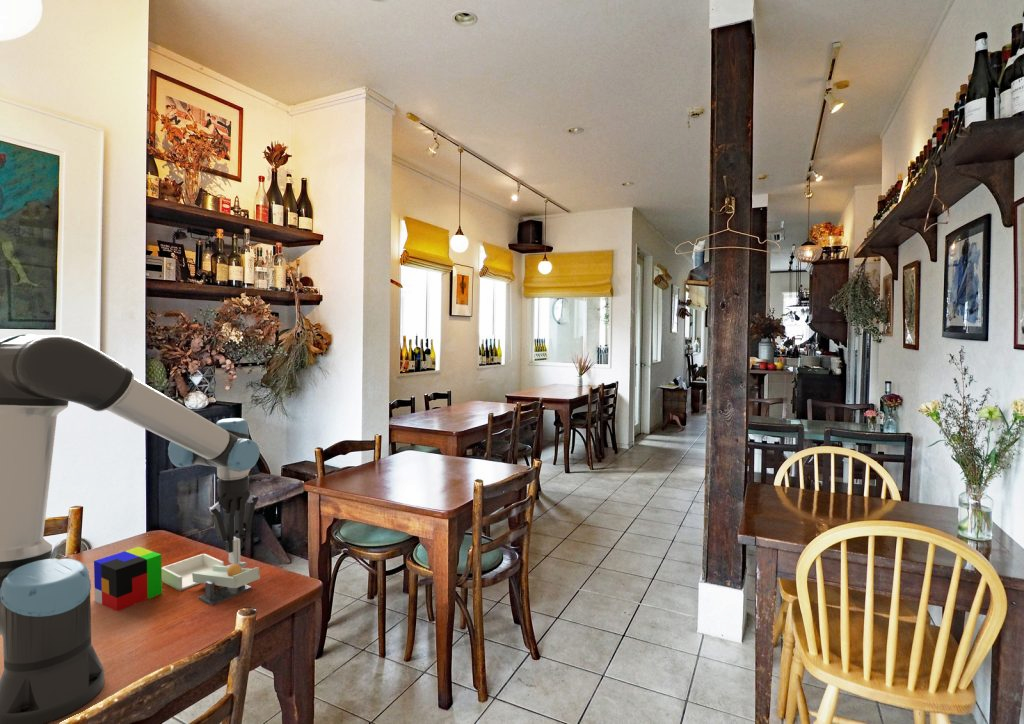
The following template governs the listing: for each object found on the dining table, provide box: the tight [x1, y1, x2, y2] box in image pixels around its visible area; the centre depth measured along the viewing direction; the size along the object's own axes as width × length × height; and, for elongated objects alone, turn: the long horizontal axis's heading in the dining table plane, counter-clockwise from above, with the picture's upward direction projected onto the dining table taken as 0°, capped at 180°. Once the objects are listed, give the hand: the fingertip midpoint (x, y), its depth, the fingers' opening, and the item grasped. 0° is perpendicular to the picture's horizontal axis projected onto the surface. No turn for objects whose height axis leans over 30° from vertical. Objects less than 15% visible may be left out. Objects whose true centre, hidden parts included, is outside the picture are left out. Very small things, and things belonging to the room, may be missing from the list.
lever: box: [192, 561, 261, 588], centre depth 135 cm, size 20×12×3 cm, turn 57°
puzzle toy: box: [93, 546, 163, 612], centre depth 130 cm, size 10×10×10 cm
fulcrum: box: [198, 581, 253, 607], centre depth 132 cm, size 6×10×4 cm, turn 148°
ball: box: [227, 564, 242, 577], centre depth 130 cm, size 3×3×3 cm
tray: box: [161, 552, 225, 592], centre depth 141 cm, size 11×10×4 cm
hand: (234, 562), depth 143 cm, fingers closed
